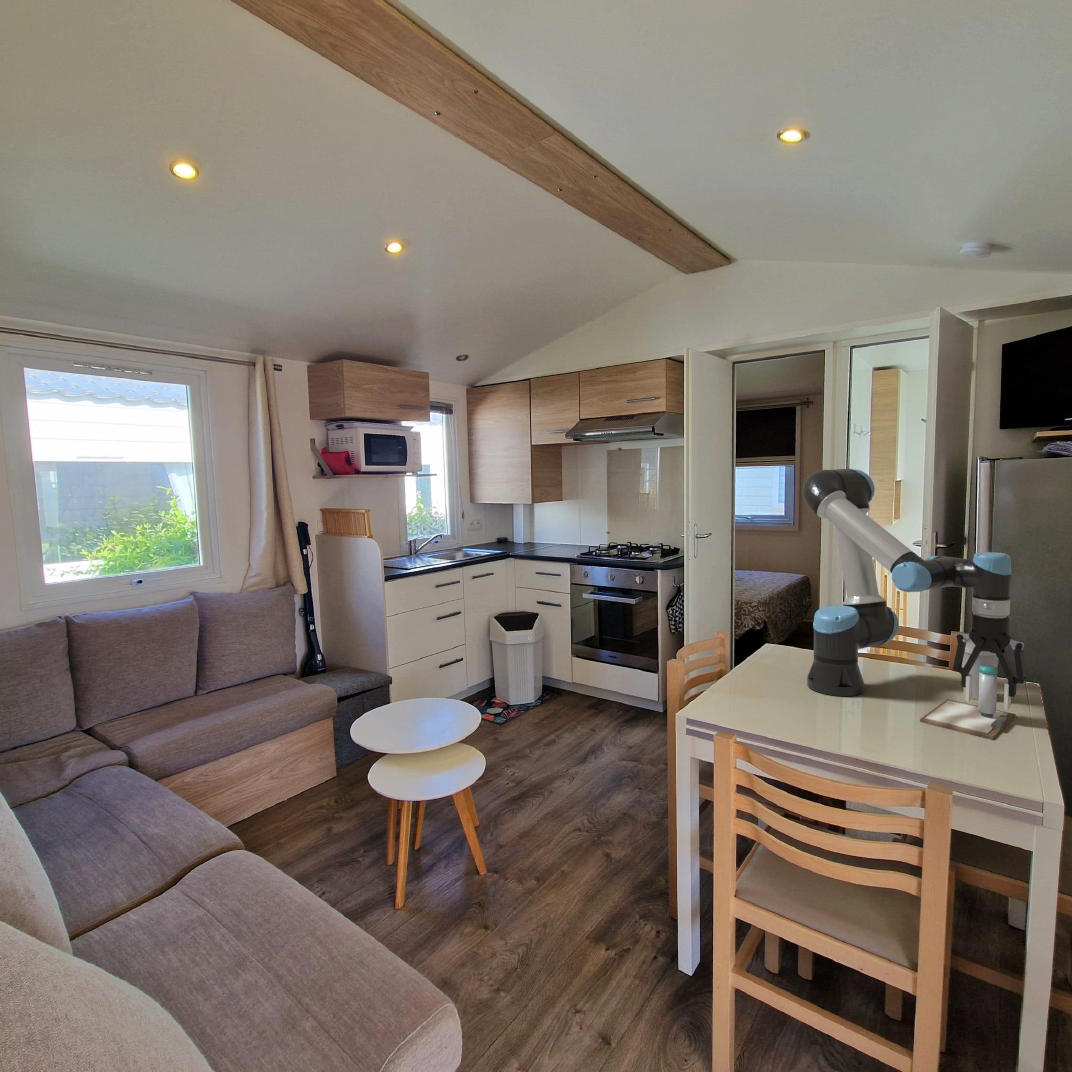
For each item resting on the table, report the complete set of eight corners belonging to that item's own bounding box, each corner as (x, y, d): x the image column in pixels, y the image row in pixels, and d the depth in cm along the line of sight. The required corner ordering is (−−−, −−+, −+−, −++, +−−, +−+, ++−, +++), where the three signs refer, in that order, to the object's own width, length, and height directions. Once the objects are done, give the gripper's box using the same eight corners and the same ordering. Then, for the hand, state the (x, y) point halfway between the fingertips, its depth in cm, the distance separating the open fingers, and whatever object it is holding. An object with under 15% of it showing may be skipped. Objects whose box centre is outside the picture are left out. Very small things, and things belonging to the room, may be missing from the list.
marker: (975, 715, 154) (976, 666, 153) (981, 711, 156) (983, 663, 155) (992, 720, 151) (994, 670, 150) (999, 715, 153) (1001, 666, 152)
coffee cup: (1007, 703, 164) (1009, 648, 162) (967, 701, 165) (968, 647, 164) (988, 690, 173) (990, 638, 171) (950, 689, 175) (952, 638, 173)
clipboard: (919, 721, 154) (920, 715, 153) (947, 701, 166) (947, 695, 166) (992, 739, 142) (992, 733, 142) (1015, 716, 155) (1015, 710, 155)
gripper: (938, 611, 157) (936, 697, 159) (1038, 623, 142) (1034, 719, 144) (948, 606, 162) (946, 690, 164) (1046, 618, 147) (1042, 711, 149)
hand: (987, 704), depth 154 cm, fingers open, 7 cm apart
